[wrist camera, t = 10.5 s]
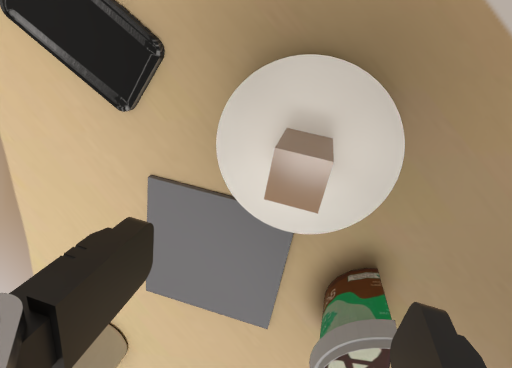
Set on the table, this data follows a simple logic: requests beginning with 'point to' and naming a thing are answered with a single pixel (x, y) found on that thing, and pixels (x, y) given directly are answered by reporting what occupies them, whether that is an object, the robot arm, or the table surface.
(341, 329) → the food container
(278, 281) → the mat
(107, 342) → the travel mug
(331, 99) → the lid
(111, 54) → the phone
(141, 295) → the table surface
